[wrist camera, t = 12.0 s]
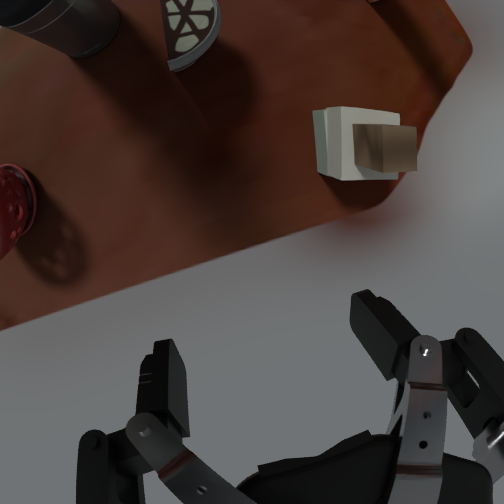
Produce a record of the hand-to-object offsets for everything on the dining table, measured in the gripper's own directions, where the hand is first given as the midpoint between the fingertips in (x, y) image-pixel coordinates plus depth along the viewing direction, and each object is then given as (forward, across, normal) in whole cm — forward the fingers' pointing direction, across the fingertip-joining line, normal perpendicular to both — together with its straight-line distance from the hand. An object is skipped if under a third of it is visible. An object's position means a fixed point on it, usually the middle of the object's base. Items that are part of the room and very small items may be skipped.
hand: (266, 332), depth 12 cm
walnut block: (+21, -19, -4) cm, 29 cm away
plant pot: (+29, +32, -7) cm, 44 cm away
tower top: (+25, -19, -4) cm, 32 cm away
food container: (+29, 0, -21) cm, 36 cm away
